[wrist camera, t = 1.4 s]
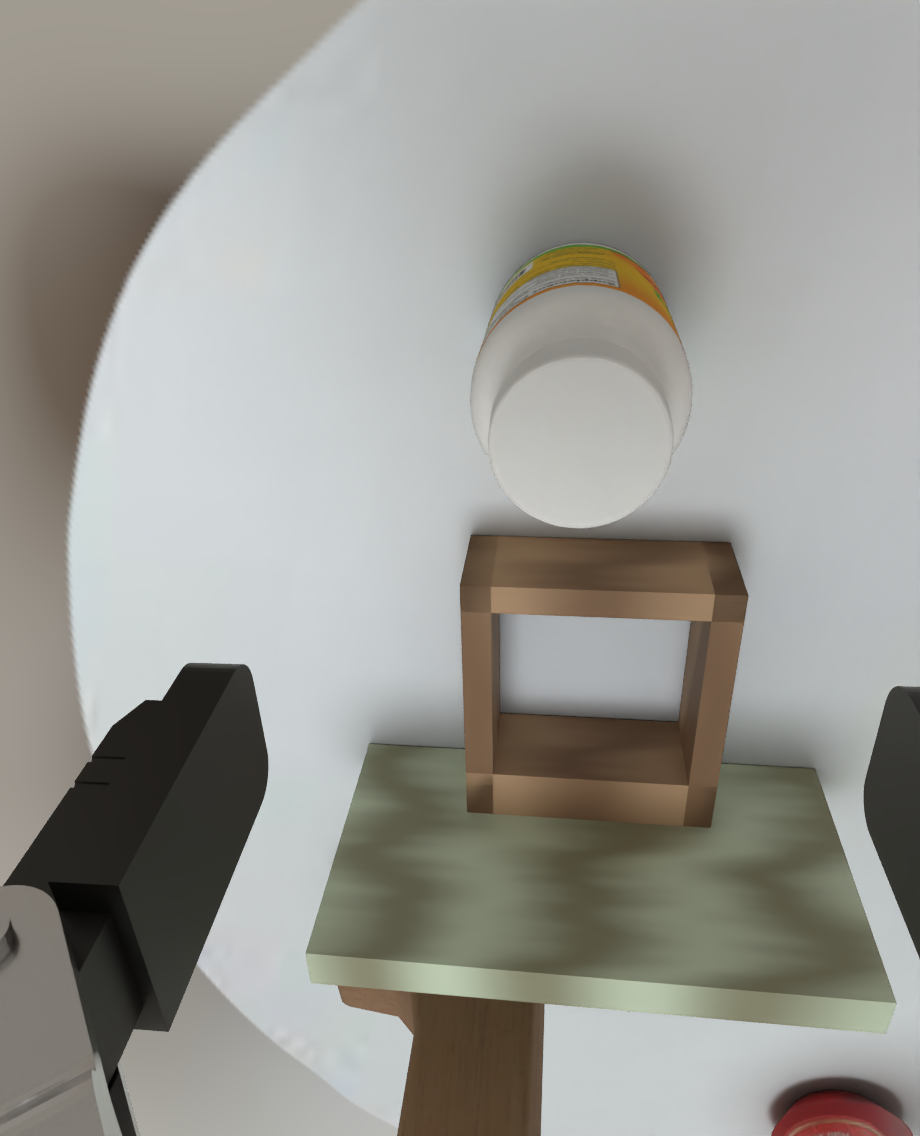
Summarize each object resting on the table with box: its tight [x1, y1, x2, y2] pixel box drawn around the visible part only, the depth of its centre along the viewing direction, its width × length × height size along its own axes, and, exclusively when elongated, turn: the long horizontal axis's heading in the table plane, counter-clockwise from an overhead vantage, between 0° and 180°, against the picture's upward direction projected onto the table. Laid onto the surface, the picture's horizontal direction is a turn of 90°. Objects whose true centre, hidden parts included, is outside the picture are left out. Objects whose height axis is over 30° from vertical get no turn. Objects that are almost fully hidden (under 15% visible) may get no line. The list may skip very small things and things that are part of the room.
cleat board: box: [306, 535, 897, 1034], centre depth 29 cm, size 18×12×10 cm, turn 92°
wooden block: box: [338, 985, 544, 1136], centre depth 32 cm, size 9×4×18 cm, turn 98°
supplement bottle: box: [470, 243, 692, 528], centre depth 23 cm, size 5×5×10 cm
